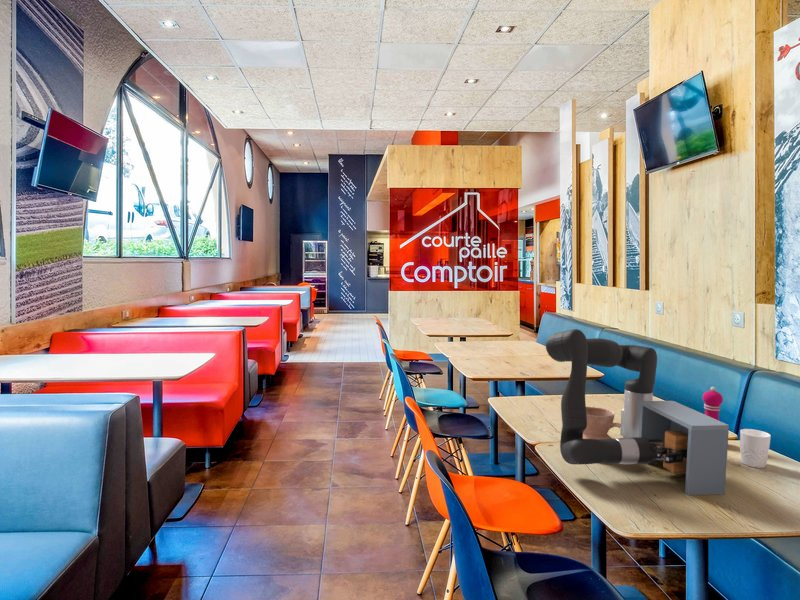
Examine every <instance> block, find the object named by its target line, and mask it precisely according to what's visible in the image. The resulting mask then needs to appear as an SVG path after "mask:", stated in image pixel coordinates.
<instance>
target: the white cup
mask: <svg viewBox="0 0 800 600" xmlns="http://www.w3.org/2000/svg"><path fill="white" fill-rule="evenodd" d="M739 431H740V432H739V435H740V436H739V449H740V450H739V454H740V463H741V464H742V465H745V466H749V467H752V468H756V467H757V469H763V468H766V467H767V463H768V462H767V461H768V458H769V450H770V445H771V439H772V438H771V434H770V433H768V432H767V431H762V430H758V429H752V428H743V429H740V430H739Z"/></svg>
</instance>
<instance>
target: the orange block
mask: <svg viewBox="0 0 800 600" xmlns="http://www.w3.org/2000/svg"><path fill="white" fill-rule="evenodd" d="M664 446H666V447H671V448H672V449H679V450H685V449H687V447H688V434H687V433H685V432H683V431H665V445H664ZM667 453H669V450H667ZM673 453H674V452H673ZM662 463H663V464H662V465H663V466H662V467H663V468H664V469H666V471H667V470H668V472H670V473H672V474H676V475H677V474H686V465H687V458H683V461H682V462H675V463H665V459H664V461H662Z"/></svg>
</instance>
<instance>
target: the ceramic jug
mask: <svg viewBox="0 0 800 600" xmlns="http://www.w3.org/2000/svg"><path fill="white" fill-rule="evenodd" d="M586 415H587V427H586V429H585V430H584V431H583V439H597V440H599V439H614V438H613V437H611V435H609V434H608V433H609V431H610V430H611V429H613V428H618V429H620V428H621V426H622V425H621V422H620V423H619V422H614V419H615V412H614V411H613V410H611V409H607V408H604V407H595V406H586Z"/></svg>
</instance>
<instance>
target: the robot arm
mask: <svg viewBox="0 0 800 600" xmlns="http://www.w3.org/2000/svg"><path fill="white" fill-rule="evenodd" d="M545 350H546V352H547V354H548V356H549V357H550V358H551V359H552V360H553V361H555V362H558V363H563V362H564V363H565V362H566V363H567V362H571V370H570V374H569V378H568V380H567V383H566V385H565V387H564V390H563V392H562V396H561V399H560V409H561V412H560V413H561V424H562V426H561V433H560V442H559V449H560V453H561V454H560V455H561V456H562V459H563V460H564V461H565V462H566V463H567V464H570V465H573V466H574V465H575V466H576V465H594V464H604V465H607V464H609V465H614V464H615V465H648V464H651V463H652V462H653V461H652V459H654V458H655V459H659V460H661V459H665V463H675V462H682V461H683V458H687V449H685V450H679V449H672V448H671V447H666V446H664V445H665V442H662V440H660V439H659V440H658V439H646V438H644V437H639V430H640V410H641V401H654V400H653V398H654V388H655V387H654V386H655V384H656V374H657V365H658V354H657V351H656V350H655V349H654V348H653V347H649V346H643V345H637V344H635V345H634V344H619V343H618V342H616V341H614V340H611V339H606V338H601V337H598V338H597V337H595V338H594V337H591V338H587V337H586V335H585V333H584V332H583V331H582V330H580V329H578V328H577V329H576V328H574V329H568V330H564V331H560V332H555V333H553V334H551V335H549V336H548V338H547V339H546V342H545ZM588 365H591V366H596V367H604V368H613V367H616V366H617V367H620V368H622V369H625V370H628V371H631V372H637V373H638V374H639V375H638V377H637V378H635V379H629V380H626V381H625V382H624V396H623V397H624V398H623V399H624V400H623V408H621V411H620V412H621V414H620V424H621V425H622V426H621V427H620V428H619V429H620V431H619V432H620V435H621V436H622V437H619V438H613V439H599V440H597V439H583V431H584V430H585V429H586V427H587V415H586V407H587V406H586V387H587V386H586V385H587V373H588V372H587V371H588ZM667 450H669V453H667ZM673 452H674V453H673Z"/></svg>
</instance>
